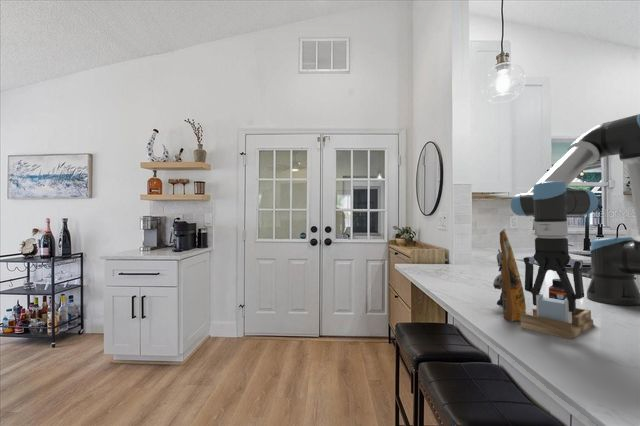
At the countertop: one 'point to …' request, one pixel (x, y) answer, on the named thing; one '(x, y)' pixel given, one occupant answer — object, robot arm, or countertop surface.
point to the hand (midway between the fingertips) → (554, 320)
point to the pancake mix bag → (511, 283)
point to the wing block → (551, 308)
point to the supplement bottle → (557, 291)
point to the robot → (499, 277)
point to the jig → (558, 323)
